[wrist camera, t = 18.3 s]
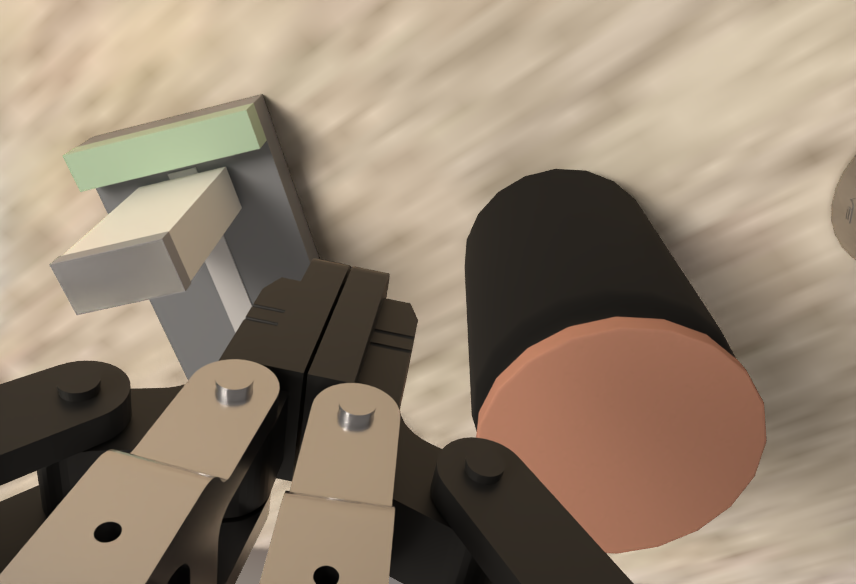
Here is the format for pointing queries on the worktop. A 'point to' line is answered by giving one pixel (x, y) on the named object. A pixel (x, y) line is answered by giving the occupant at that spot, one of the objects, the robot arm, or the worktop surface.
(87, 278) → the handle
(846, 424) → the worktop surface
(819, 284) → the worktop surface
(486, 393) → the coffee jar
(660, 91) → the worktop surface
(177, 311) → the plate
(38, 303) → the worktop surface
